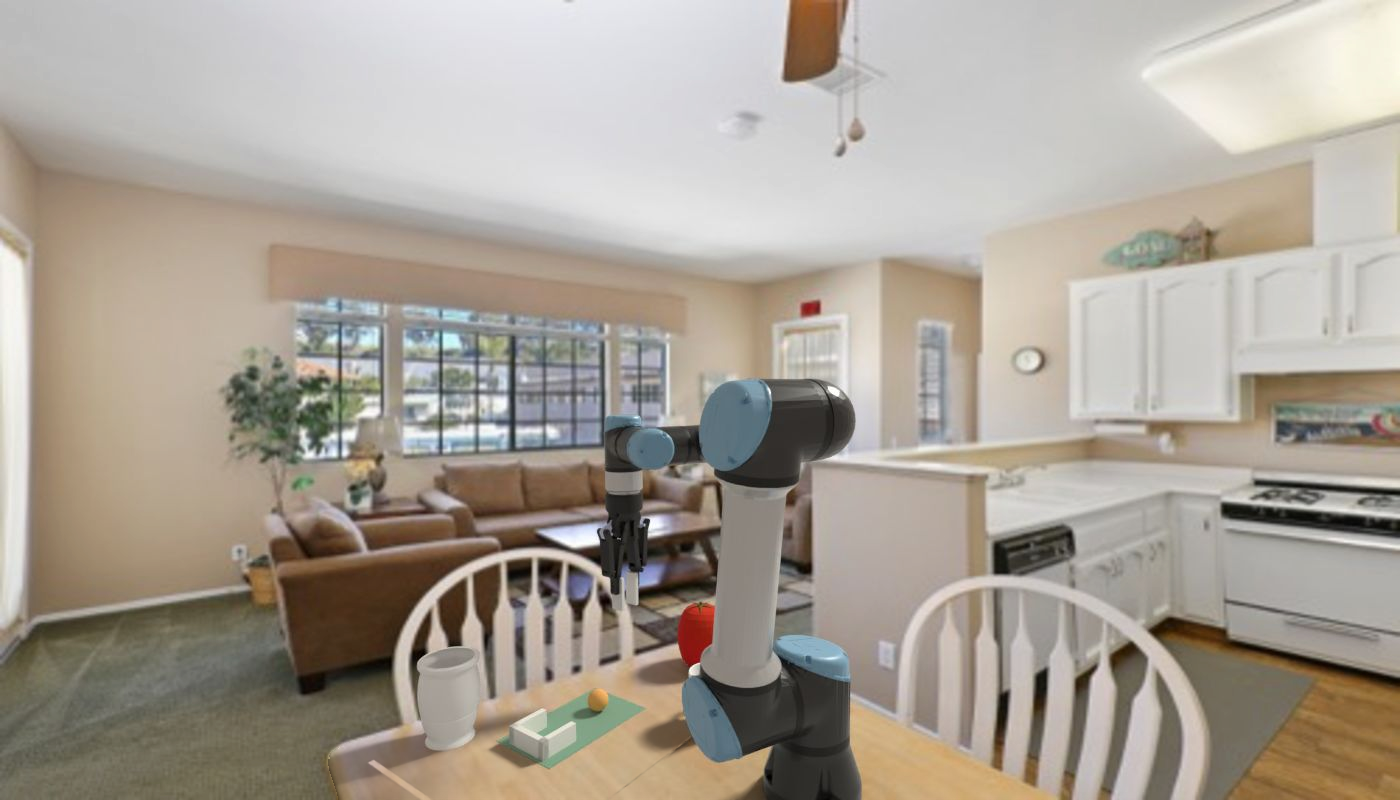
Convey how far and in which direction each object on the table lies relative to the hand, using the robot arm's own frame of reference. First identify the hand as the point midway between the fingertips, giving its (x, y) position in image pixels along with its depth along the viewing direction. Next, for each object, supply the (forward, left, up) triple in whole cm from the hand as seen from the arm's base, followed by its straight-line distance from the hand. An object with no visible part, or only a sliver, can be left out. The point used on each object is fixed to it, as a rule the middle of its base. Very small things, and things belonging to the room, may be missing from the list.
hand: (625, 606), depth 130 cm
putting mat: (0, +14, -19) cm, 23 cm away
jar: (+15, +30, -19) cm, 38 cm away
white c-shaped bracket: (0, +22, -18) cm, 28 cm away
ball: (0, +8, -16) cm, 18 cm away
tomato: (-4, -21, -19) cm, 28 cm away
